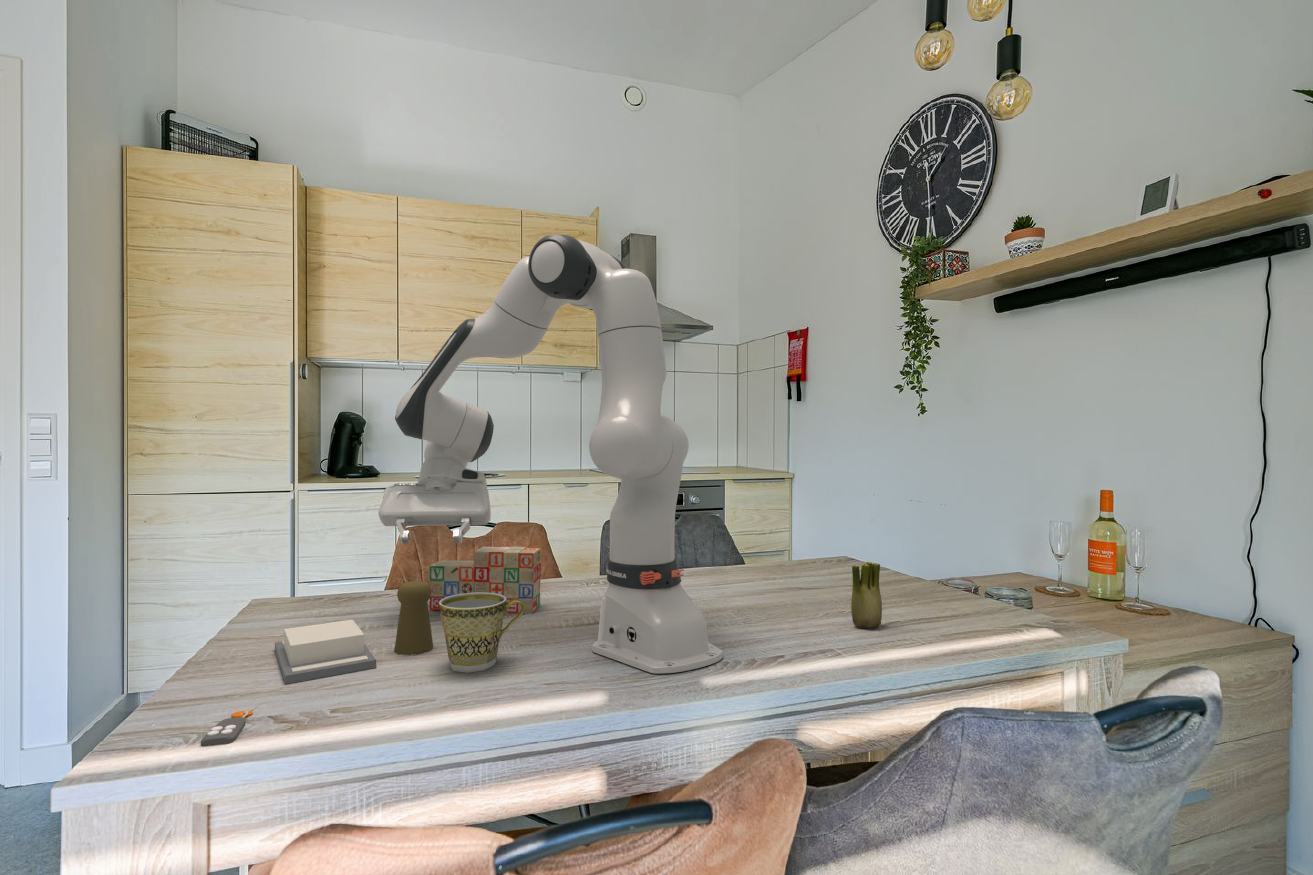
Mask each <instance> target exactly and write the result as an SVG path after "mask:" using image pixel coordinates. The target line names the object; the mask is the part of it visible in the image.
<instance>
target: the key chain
mask: <svg viewBox="0 0 1313 875" xmlns="http://www.w3.org/2000/svg"><path fill="white" fill-rule="evenodd" d="M259 707H260V706H259V705H257V706H256V705H254V706H252V707H250V708H249V709H247V710H246V709H245V710H241V711H235V712H233V713H231V714H230V716H231V717H230V718H224V719H222V720H221V721H220V722H218V723H217V724H216V725H215V726H213V727H212V728H210V730H209V731H208V732H207V734H205V735H204V736H203V737H202V738H201V740H200V746H201V747H211V746H221V745H227V744H232V743H234V742H236V741H237V739H238V738H239V736H240V734H241V733H242V731H243V730H244V727H245V726H246V717H250V716H252V715H253V714H254V712H253V711H254V710H255V709H257V708H259Z"/></svg>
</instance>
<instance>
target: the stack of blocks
mask: <svg viewBox="0 0 1313 875" xmlns="http://www.w3.org/2000/svg"><path fill="white" fill-rule="evenodd" d="M541 551H542V548H540V547H539V548H538V547H526V546H511V547H510V546H482V547H480V548H478V549H477V550H474V552H473V560H449V559H448V560H447V559H446V560H442V559H441V560H439V561H436V562H435V563H432V564H430V565H429V567H428V570H429V571H428V572H429V574H428V577H429V579H428V580H429V586H430V588H431V595H430V598H429V604H428V610H429V611H430V610H440V609H439V601H440V600H442V599H444V598H446V597H449V596H453V595H458V594H464V593H478V592H483V593H496V594H500V595H503V596H505V597H506V599H507V600H506V603H507V602H508V601H510V600H512V599H518V600H521V601H522V602H523V604H524V612H523V614H531V615H533V614H534V613H535V612H536V611H537V609H538V608H540V606H541V576H542V572H541V571H542V569H541V567H542V562H541V559H542V558H541V556H542V552H541ZM521 609H522V606H521V604H520V603H514V604H513V605H511V606H510V607H509V608H508V609H507V611H506V612H508V613H507V614H519V613H520V612H521Z"/></svg>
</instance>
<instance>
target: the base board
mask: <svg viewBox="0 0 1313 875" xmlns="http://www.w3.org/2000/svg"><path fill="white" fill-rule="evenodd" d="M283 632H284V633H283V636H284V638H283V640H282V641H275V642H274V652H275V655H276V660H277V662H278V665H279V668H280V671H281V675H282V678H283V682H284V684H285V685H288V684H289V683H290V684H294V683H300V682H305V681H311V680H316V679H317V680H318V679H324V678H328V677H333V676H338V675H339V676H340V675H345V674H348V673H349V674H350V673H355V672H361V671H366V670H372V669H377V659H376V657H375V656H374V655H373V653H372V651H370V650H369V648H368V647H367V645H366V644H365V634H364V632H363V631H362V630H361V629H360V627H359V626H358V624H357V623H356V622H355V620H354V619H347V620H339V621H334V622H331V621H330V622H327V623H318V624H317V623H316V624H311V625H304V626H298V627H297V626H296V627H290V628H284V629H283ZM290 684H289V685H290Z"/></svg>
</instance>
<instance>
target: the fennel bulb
mask: <svg viewBox="0 0 1313 875" xmlns="http://www.w3.org/2000/svg"><path fill="white" fill-rule="evenodd" d="M851 570H852V571H851V572H852V575H851V576H852V586H851V587H852V588H851V590H852V591H851V602H850V612H851V613H850V614H851V618H852V622H853V623H852V624H853V625H854V626H856V627H860V628H862V629H872V630H873V629H878V628H879V627H880V626H881V625H882V617H883V616H882V615H883V613H882V612H883V601H882V596H881V588H880V572H881V571H880V570H881V564H880V563H878V562H877V563H876V562H870V561H866V563H862V564H861V568H860V565H858V564H852V565H851Z"/></svg>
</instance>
